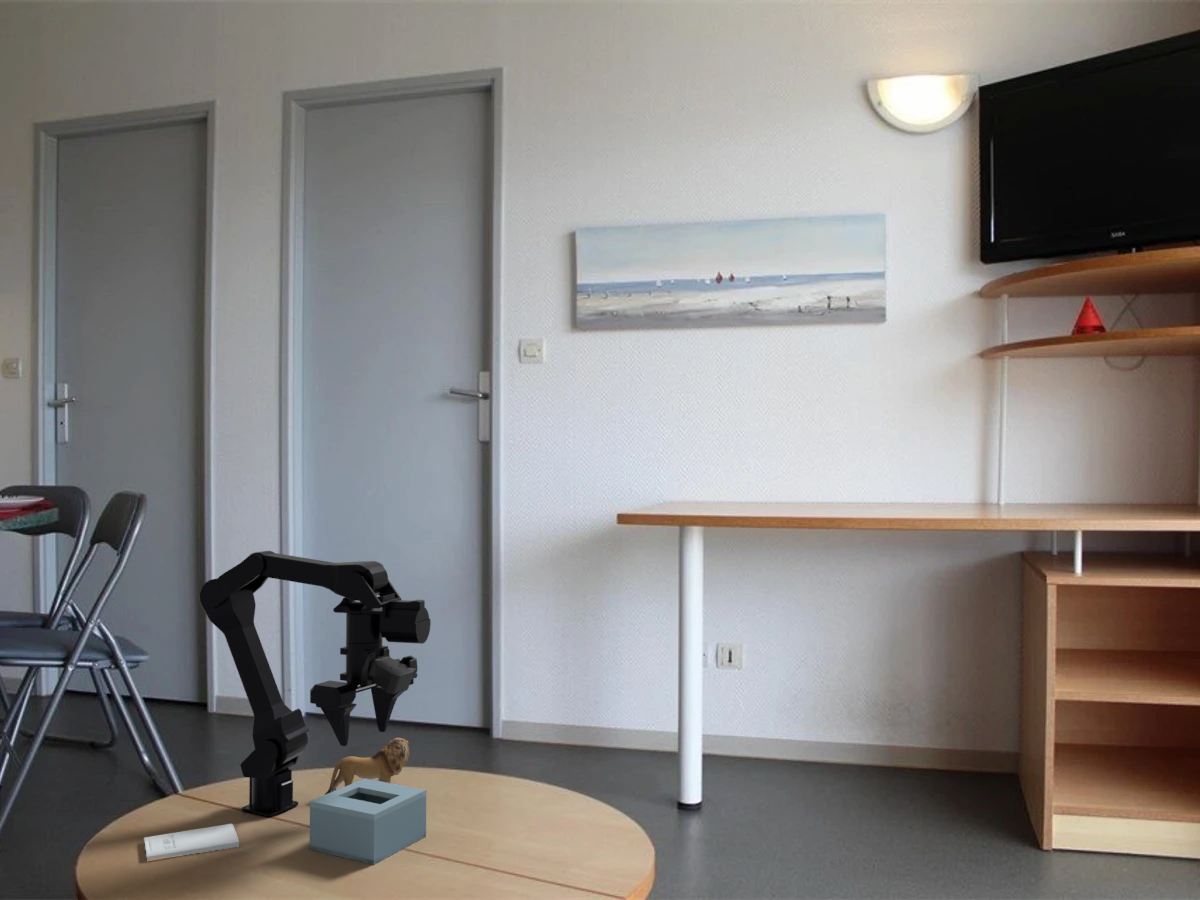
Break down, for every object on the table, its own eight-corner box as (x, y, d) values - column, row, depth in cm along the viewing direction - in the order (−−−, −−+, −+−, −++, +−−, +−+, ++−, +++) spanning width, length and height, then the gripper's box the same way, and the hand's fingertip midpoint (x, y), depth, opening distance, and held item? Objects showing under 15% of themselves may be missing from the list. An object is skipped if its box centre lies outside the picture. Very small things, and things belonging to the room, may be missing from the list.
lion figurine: (404, 784, 174) (405, 733, 174) (413, 793, 170) (413, 740, 170) (320, 796, 168) (320, 743, 168) (326, 806, 163) (326, 751, 163)
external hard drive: (239, 851, 145) (146, 866, 140) (232, 832, 153) (143, 846, 147) (239, 840, 145) (146, 854, 140) (232, 822, 153) (143, 835, 147)
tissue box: (309, 849, 144) (309, 801, 145) (364, 823, 155) (364, 778, 155) (373, 864, 139) (374, 814, 139) (426, 836, 150) (426, 789, 150)
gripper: (364, 655, 146) (363, 760, 146) (440, 636, 163) (439, 731, 163) (308, 648, 151) (307, 750, 151) (386, 630, 168) (386, 722, 168)
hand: (363, 738), depth 158 cm, fingers open, 9 cm apart
